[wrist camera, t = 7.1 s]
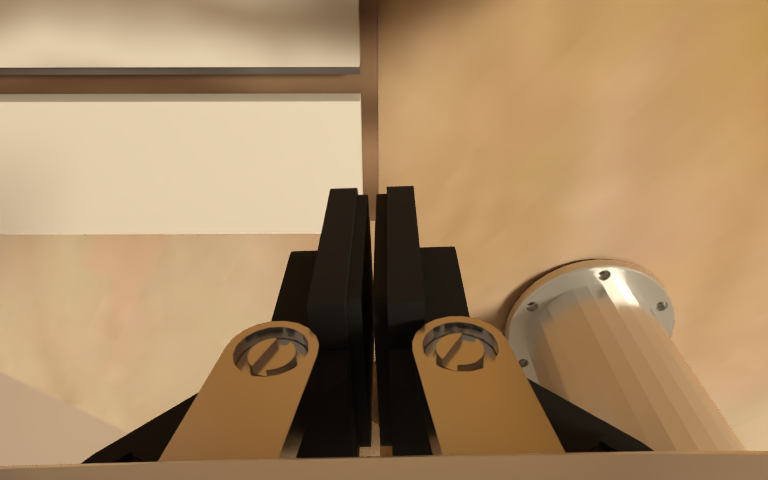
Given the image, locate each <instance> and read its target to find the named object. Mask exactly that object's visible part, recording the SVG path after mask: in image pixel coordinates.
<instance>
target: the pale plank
mask: <svg viewBox="0 0 768 480" xmlns="http://www.w3.org/2000/svg"><path fill="white" fill-rule="evenodd" d="M336 188H357V189H358V195H363V173H362V124H361V93H296V94H0V235H57V234H321V232H322V227H323V222H324V217H325V212H326V207H327V202H328V197H329V192H330V189H336Z"/></svg>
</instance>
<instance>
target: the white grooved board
mask: <svg viewBox="0 0 768 480" xmlns="http://www.w3.org/2000/svg"><path fill="white" fill-rule="evenodd" d="M296 93H361V124H362V173H363V195H368V199H369V217H370V221H375V219H376V194H378V21H377V0H0V94H296Z"/></svg>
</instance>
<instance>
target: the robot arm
mask: <svg viewBox="0 0 768 480" xmlns="http://www.w3.org/2000/svg"><path fill="white" fill-rule="evenodd" d="M674 324H675V314H674V307H673V304H672V301H671V298H670V297H669V295H668V294H667V292H666V291H665V289H664V287H663V286H662V285H661V284H660V283H659V281H658V280H657V279H656V278H655V277H654V276H653V275H651V274H650V273H648V272H647V271H646V270H644V269H642V268H640V267H638V266H635V265H633V264H631V263H627V262H622V261H617V260H604V259H596V260H588V261H581V262H577V263H573V264H570V265H566V266H563V267H561V268H559V269H557V270H554V271H552V272H550V273H548V274H547V275H545V276H543V277H542V278H540V279H539V280H537V281H536V282H534V283H533V284H532V285H531V286H530V287H529V288H528V289H527V290H525V291H524V292H523V293H522V295H521V296H520V297H519V299H518V300H517V301H516V302H515V304H514V306H513V308H512V309H511V311H510V313H509V315H508V318H507V322H506V326H505V337H504V335H503V334H502V333H501V332H500V330H498V329H497V328H495V327H494V326H492V325H491V324H489V323H487V322H484V321H482V320H479V319H476V318H470V317H469V312H468V307H467V302H466V298H465V293H464V288H463V283H462V278H461V273H460V269H459V264H458V259H457V254H456V250H455V247H424V248H420V246H419V236H418V226H417V217H416V207H415V197H414V187H413V186H399V187H387V194H376V219H375V249H374V278H373V271H372V253H371V235H370V217H369V199H368V195H358V189H357V188H336V189H330V192H329V197H328V202H327V207H326V212H325V217H324V222H323V227H322V232H321V236H320V241H319V246H318V251H293V252H291V254H290V257H289V260H288V264H287V267H286V271H285V275H284V278H283V282H282V285H281V289H280V292H279V296H278V299H277V303H276V307H275V310H274V314H273V317H272V321H271V322H266V323H262V324H257V325H255V326H253V327H250V328H248V329H246V330H244V331H242V332H241V333H240V334H238V335H237V336H235V337H234V338H233V339H232V340H231V341H230V343H229V344H228V345H227V346H226V347H225V349H224V351H223V352H222V354H221V356H220V358H219V359H218V361H217V363H216V364H215V366H214V368H213V369H212V371H211V373H210V374H209V376H208V378H207V379H206V381H205V383H204V385H203V386H202V388H201V390H200V391H199V393H197V394H195V395H194V396H192V397H190V398H188V399H187V400H185V401H183V402H182V403H180V404H178V405H177V406H175V407H173V408H171V409H170V410H168V411H166V412H165V413H163V414H161V415H160V416H158V417H156V418H154V419H153V420H151V421H149V422H148V423H146V424H144V425H143V426H141V427H139V428H137V429H136V430H134V431H132V432H131V433H129V434H127V435H126V436H124V437H122V438H120V439H119V440H117V441H116V442H114V443H112V444H110V445H109V446H107V447H105V448H104V449H102V450H100V451H99V452H97V453H95V454H94V455H92V456H91V457H89V458H88V459H87V460H85V461H84V462H82V463H81V464H58V465H23V466H22V465H21V466H0V480H768V451H746V449H745V448H744V446H743V445H742V443H741V442H740V440H739V439H738V437H737V436H736V434H735V433H734V431H733V430H732V429H731V427H730V426H729V424H728V423H727V421H726V420H725V418H724V417H723V415H722V414H721V412H720V411H719V409H718V408H717V406H716V405H715V403H714V402H713V400H712V399H711V397H710V396H709V394H708V393H707V391H706V390H705V388H704V387H703V385H702V384H701V382H700V381H699V379H698V378H697V376H696V375H695V373H694V372H693V370H692V369H691V367H690V366H689V364H688V363H687V361H686V360H685V358H684V357H683V355H682V354H681V352H680V351H679V349H678V348H677V346H676V345H675V343H674V342H673V341H672V339H671V336H672V334H673V329H674ZM374 339H375V356H376V374H377V392H378V409H379V427H380V444H381V446H392V454H393V456H368V457H359V447H371V431H372V395H373V359H374Z"/></svg>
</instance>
